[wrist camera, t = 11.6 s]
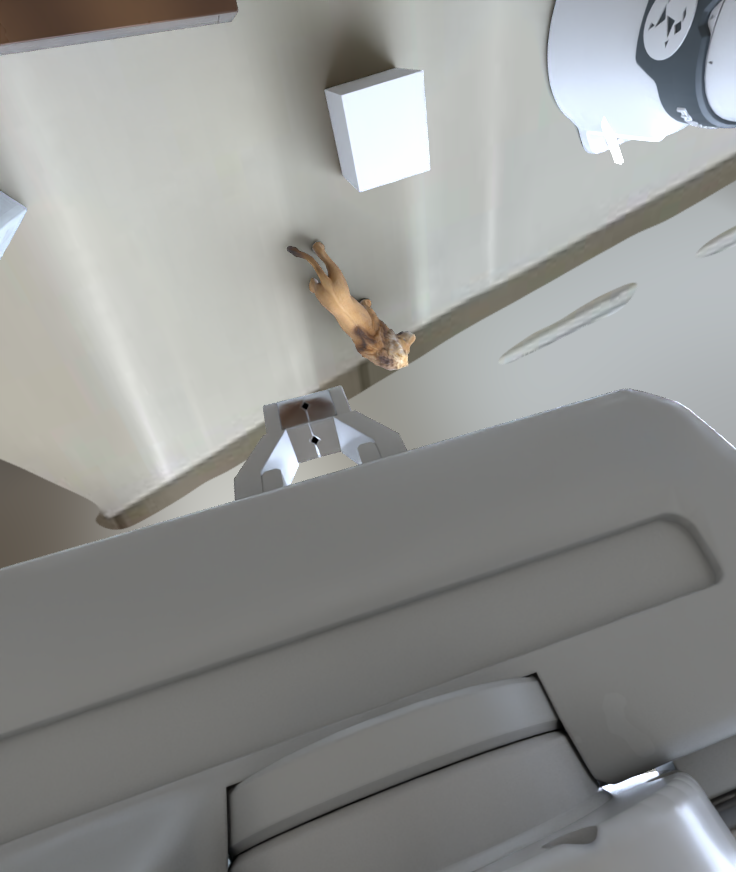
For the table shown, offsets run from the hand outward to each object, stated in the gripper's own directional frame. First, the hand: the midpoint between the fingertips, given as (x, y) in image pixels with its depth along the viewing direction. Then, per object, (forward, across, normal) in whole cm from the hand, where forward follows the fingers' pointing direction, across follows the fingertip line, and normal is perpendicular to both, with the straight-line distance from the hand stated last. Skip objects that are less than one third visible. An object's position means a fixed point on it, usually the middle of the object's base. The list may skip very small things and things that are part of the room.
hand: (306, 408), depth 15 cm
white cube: (+29, -11, -4) cm, 32 cm away
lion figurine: (+29, -7, +10) cm, 32 cm away
